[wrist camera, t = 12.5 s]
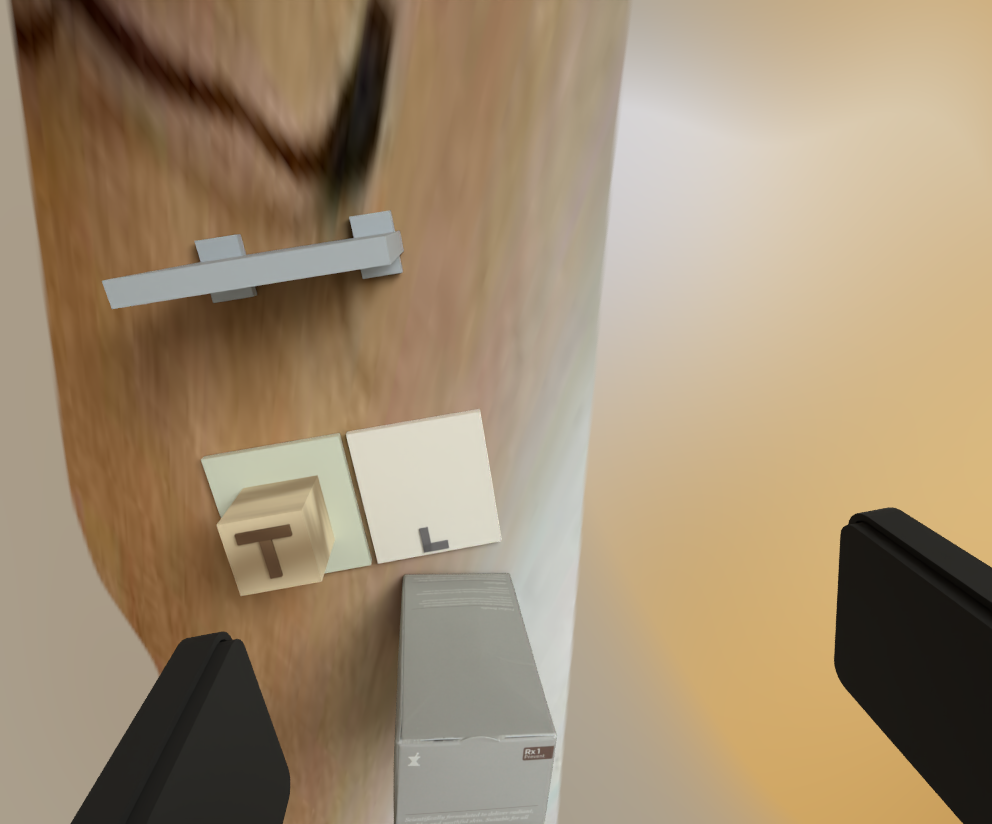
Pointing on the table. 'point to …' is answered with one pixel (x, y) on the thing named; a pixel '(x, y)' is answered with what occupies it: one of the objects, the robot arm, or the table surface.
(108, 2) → the table surface
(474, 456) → the pad
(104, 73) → the table surface
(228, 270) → the screen
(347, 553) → the pad
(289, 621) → the table surface
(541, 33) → the table surface
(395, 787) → the skincare box
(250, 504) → the letter cube
